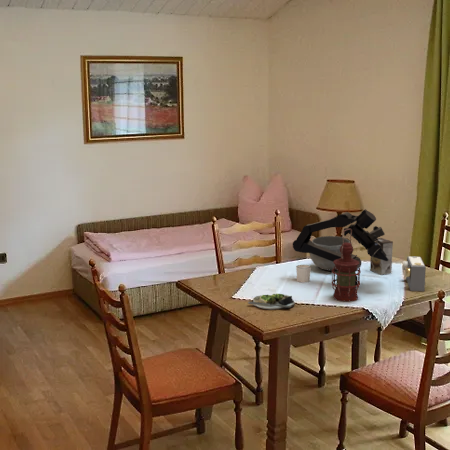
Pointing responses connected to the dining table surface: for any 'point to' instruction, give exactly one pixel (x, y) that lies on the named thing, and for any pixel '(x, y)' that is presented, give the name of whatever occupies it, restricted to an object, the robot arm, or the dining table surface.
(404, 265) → the cream button
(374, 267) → the coffee box
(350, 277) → the lantern
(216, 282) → the dining table surface
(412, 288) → the console
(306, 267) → the white cup
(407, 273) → the brass button
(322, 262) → the bowl
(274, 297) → the salad plate
